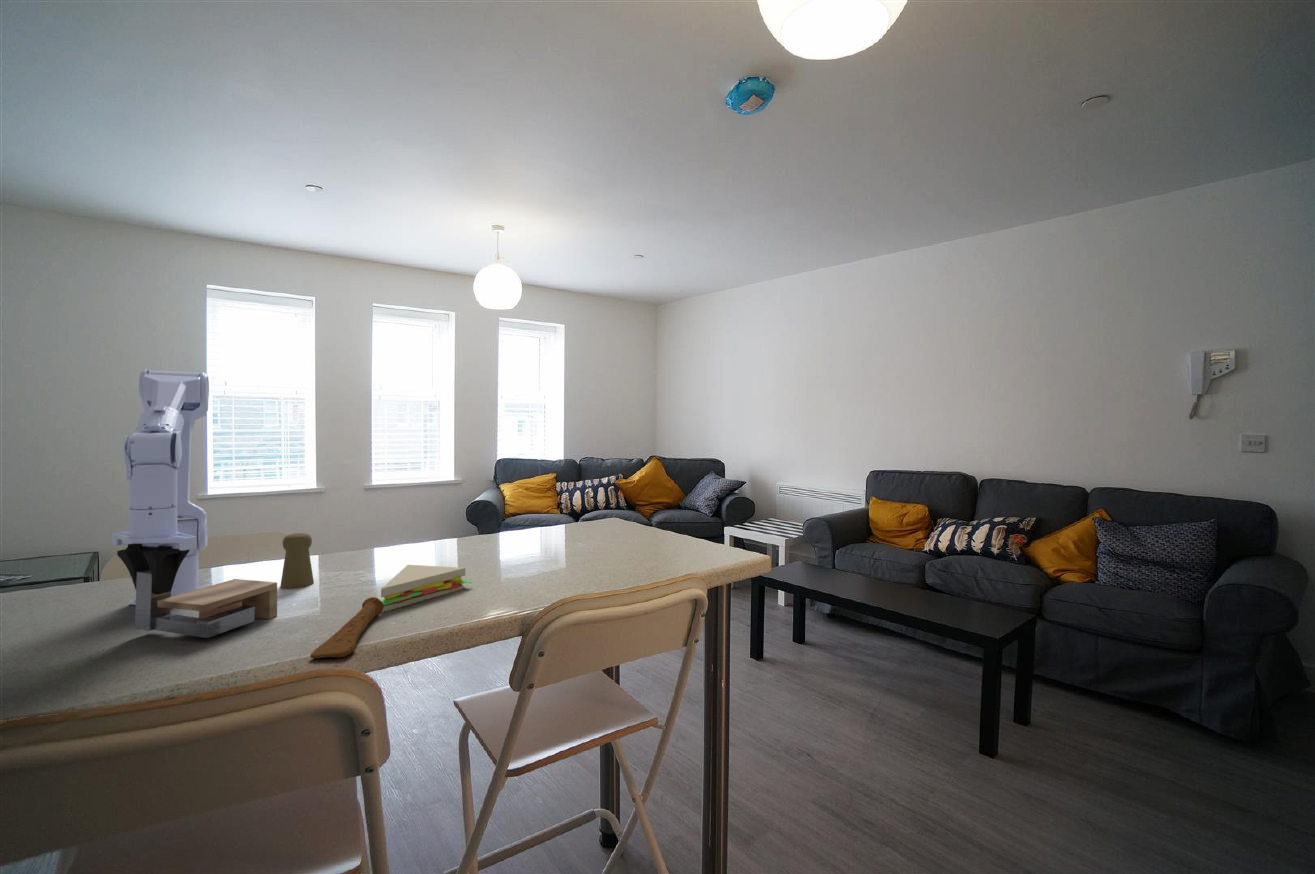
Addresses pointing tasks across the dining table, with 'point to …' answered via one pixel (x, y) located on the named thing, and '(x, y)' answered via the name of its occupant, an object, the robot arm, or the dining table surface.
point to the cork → (297, 562)
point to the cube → (220, 609)
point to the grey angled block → (162, 620)
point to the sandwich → (421, 584)
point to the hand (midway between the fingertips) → (154, 591)
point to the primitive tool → (349, 631)
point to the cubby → (228, 597)
